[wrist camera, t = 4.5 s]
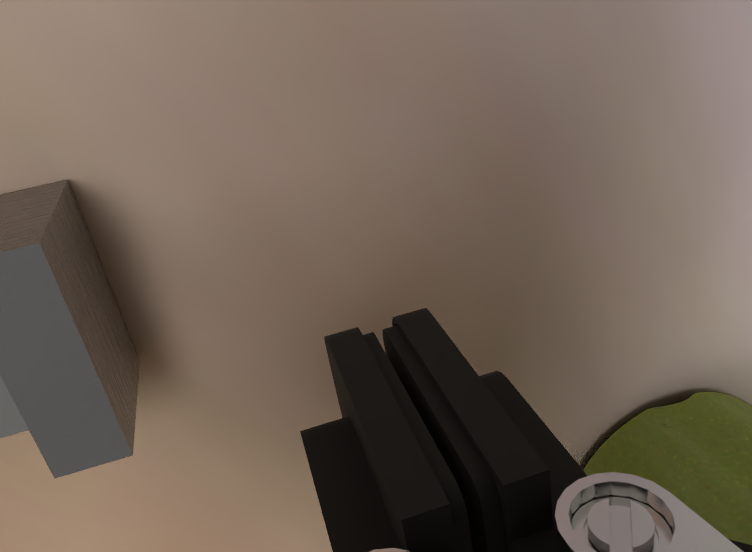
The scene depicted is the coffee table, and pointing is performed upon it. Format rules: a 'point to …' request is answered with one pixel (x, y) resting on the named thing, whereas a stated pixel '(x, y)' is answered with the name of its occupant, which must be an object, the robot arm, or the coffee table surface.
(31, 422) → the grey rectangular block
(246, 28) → the coffee table surface
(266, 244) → the coffee table surface
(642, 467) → the plant pot
